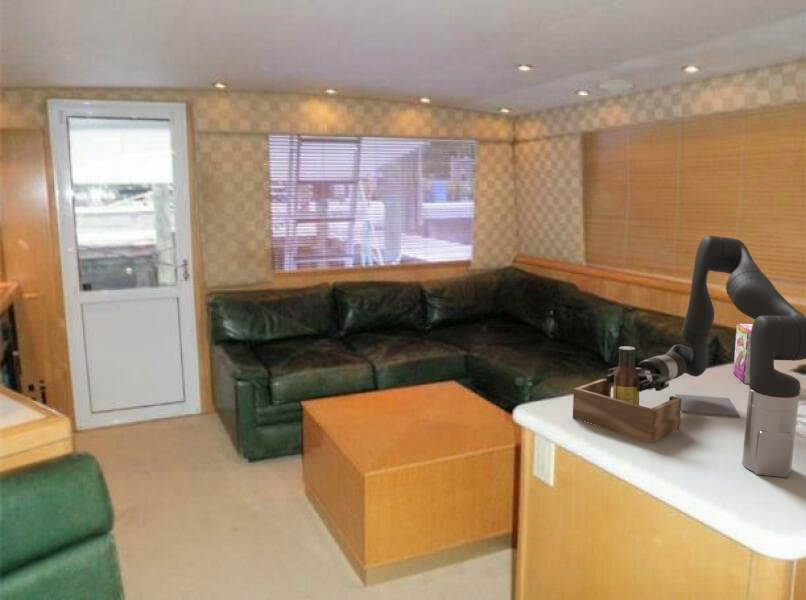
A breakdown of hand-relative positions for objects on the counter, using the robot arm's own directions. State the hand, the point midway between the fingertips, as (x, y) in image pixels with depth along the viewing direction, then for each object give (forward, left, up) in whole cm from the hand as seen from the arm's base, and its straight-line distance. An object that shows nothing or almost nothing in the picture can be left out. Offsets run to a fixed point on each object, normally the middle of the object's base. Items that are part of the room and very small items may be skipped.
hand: (623, 383), depth 161 cm
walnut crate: (+1, -1, -11) cm, 11 cm away
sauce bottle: (+1, -1, -11) cm, 11 cm away
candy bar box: (+50, -39, -11) cm, 65 cm away
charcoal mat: (+20, -23, -11) cm, 33 cm away
